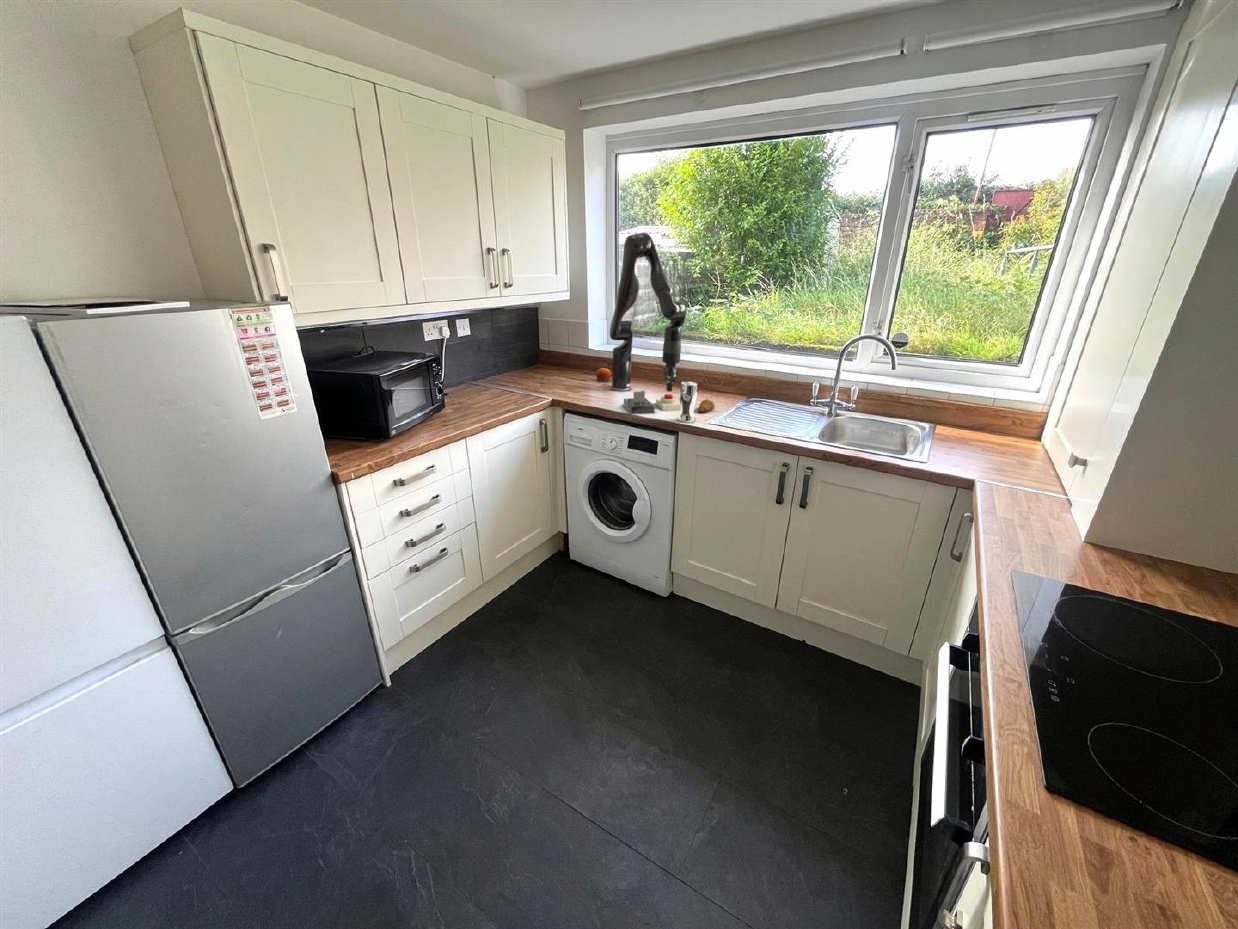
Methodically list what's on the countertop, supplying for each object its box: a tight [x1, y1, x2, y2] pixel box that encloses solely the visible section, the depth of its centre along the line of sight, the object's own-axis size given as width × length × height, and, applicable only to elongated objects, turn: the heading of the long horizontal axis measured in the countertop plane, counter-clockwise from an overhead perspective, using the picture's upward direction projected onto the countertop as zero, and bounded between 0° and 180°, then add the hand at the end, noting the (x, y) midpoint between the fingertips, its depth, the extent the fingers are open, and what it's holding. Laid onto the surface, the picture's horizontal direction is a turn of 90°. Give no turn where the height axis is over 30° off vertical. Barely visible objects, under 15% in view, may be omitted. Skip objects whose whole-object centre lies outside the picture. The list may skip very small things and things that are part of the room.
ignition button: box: [663, 393, 674, 399], centre depth 218 cm, size 4×4×2 cm
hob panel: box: [623, 397, 655, 415], centre depth 214 cm, size 14×10×3 cm
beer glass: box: [678, 381, 698, 423], centre depth 198 cm, size 7×7×15 cm
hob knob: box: [632, 390, 646, 403], centre depth 213 cm, size 5×1×5 cm, turn 103°
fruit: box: [595, 367, 612, 383], centre depth 265 cm, size 8×8×8 cm
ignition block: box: [655, 395, 680, 411], centre depth 219 cm, size 11×8×4 cm
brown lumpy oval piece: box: [698, 398, 716, 414], centre depth 215 cm, size 14×7×5 cm, turn 151°
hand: (669, 391), depth 218 cm, fingers closed
